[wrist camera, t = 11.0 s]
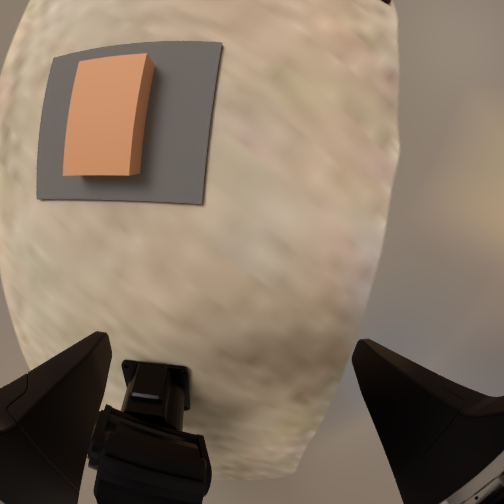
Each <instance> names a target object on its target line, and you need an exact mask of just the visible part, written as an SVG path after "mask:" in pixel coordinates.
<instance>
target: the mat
mask: <svg viewBox="0 0 504 504" xmlns="http://www.w3.org/2000/svg"><path fill="white" fill-rule="evenodd" d="M221 48H222V43H221V42H203V41H160V42H143V43H132V44H123V45H115V46H108V47H101V48H96V49H90V50H85V51H80V52H76V53H71V54H67V55H63V56H59V57H55V58H53V62H52V66H51V70H50V74H49V78H48V83H47V87H46V92H45V98H44V103H43V109H42V116H41V123H40V132H39V142H38V156H37V199H94V200H131V201H154V202H174V203H190V204H202V200H203V188H204V177H205V166H206V157H207V147H208V138H209V130H210V122H211V114H212V106H213V99H214V92H215V85H216V78H217V72H218V66H219V60H220V54H221ZM143 53H147V54H148V56H149V57H150V59H151V60H152V61H153V63H154V64H155V68H154V73H153V78H152V83H151V89H150V95H149V101H148V107H147V114H146V121H145V129H144V137H143V146H142V156H141V168H140V174H134V175H130V176H124V175H74V176H63V161H64V148H65V137H66V128H67V120H68V113H69V107H70V101H71V96H72V90H73V86H74V81H75V76H76V72H77V68H78V64H79V61H84V60H90V59H96V58H103V57H110V56H119V55H129V54H143Z"/></svg>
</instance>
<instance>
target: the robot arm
mask: <svg viewBox="0 0 504 504" xmlns="http://www.w3.org/2000/svg"><path fill="white" fill-rule="evenodd" d="M111 359H112V350H111V345H110V341H109V336H108V334H107V333H106V332H99V331H96V332H94V333H93V334H91V335H89V336H88V337H86V338H84V339H83V340H81V341H79V342H78V343H76V344H74V345H73V346H71V347H69V348H68V349H66V350H64V351H63V352H61V353H59V354H58V355H56V356H54V357H53V358H51V359H49V360H48V361H46V362H44V363H43V364H41V365H40V366H38V367H36V368H35V369H33V370H31V371H30V372H28V374H25V375H23V376H21V377H20V378H18V379H16V380H15V381H13V382H11V383H10V384H8V385H6V386H4V387H2V388H0V504H77V503H78V497H79V491H80V485H81V480H82V475H83V470H84V466H85V461H86V457H87V454H88V457H87V458H88V459H89V464H88V467H90V468H92V469H94V470H97V475H96V480H95V486H94V495H95V498H96V500H97V503H98V504H202V500H203V497H204V496H205V495H206V494H207V492H208V490H209V488H210V483H211V477H212V470H211V464H210V460H209V456H208V452H207V448H206V444H205V440H204V436H203V435H198V434H197V435H195V434H190V433H187V432H183V431H182V428H183V413H184V411H187V410H189V409H190V394H189V372H188V369H187V368H186V367H184V366H173V365H162V364H153V363H145V362H137V361H130V360H124V361H123V362H122V370H123V374H124V378H125V382H126V386H127V391H126V394H125V398H124V401H123V405H122V408H121V411H119V410H117V409H114V408H112V406H110V405H107V404H106V406H105V409H104V411H103V410H101V411H99V409H100V406H101V402H102V399H103V396H104V392H105V388H106V382H107V377H108V373H109V368H110V363H111ZM352 364H353V367H354V370H355V374H356V377H357V380H358V384H359V387H360V390H361V393H362V396H363V398H364V401H365V403H366V405H367V408H368V410H369V412H370V415H371V418H372V420H373V423H374V425H375V427H376V430H377V432H378V435H379V437H380V440H381V442H382V445H383V448H384V450H385V453H386V456H387V458H388V461H389V464H390V466H391V469H392V472H393V474H394V477H395V479H396V483H397V486H398V489H399V491H400V495H401V497H402V500H403V503H404V504H441V503H442V502H444V501H445V502H446V503H447V504H504V396H501V397H491V396H487V395H485V394H482V393H479V392H477V391H474V390H472V389H469V388H467V387H464V386H462V385H459V384H457V383H455V382H453V381H451V380H449V379H446V378H444V377H442V376H440V375H438V374H436V373H434V372H432V371H430V370H428V369H426V368H424V367H422V366H421V365H419V364H417V363H415V362H413V361H411V360H409V359H407V358H405V357H403V356H401V355H399V354H397V353H395V352H393V351H391V350H389V349H388V348H386V347H384V346H382V345H380V344H378V343H376V342H374V341H372V340H370V339H360V340H359V341H358V342H357V344H356V347H355V350H354V352H353V355H352ZM127 365H128V366H127ZM182 371H184V372H182Z"/></svg>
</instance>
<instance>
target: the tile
mask: <svg viewBox="0 0 504 504" xmlns="http://www.w3.org/2000/svg"><path fill="white" fill-rule="evenodd" d="M154 68H155V64H154V63H153V61H152V60H151V59H150V57H149V56H148V54H147V53H143V54H129V55H119V56H110V57H103V58H96V59H90V60H84V61H79V64H78V68H77V72H76V76H75V81H74V86H73V90H72V96H71V101H70V107H69V113H68V120H67V128H66V137H65V148H64V161H63V176H74V175H124V176H130V175H134V174H140V168H141V156H142V146H143V137H144V129H145V121H146V114H147V107H148V101H149V95H150V89H151V83H152V78H153V73H154Z"/></svg>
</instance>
